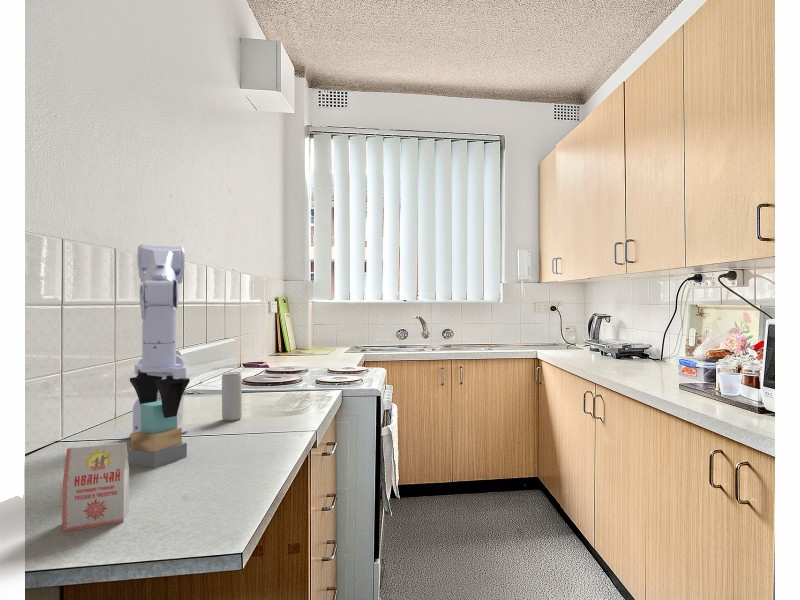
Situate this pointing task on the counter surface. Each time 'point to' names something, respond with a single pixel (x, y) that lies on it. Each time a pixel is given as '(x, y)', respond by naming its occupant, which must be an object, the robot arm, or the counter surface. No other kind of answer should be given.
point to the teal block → (155, 418)
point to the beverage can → (231, 396)
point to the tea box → (95, 486)
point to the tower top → (155, 440)
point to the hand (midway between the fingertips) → (159, 414)
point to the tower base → (157, 456)
